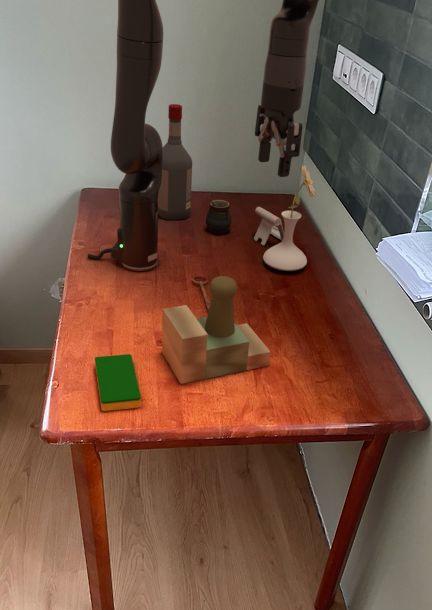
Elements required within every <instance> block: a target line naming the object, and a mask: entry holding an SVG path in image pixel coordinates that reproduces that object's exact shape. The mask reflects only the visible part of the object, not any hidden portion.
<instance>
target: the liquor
mask: <svg viewBox="0 0 432 610" xmlns="http://www.w3.org/2000/svg"><path fill="white" fill-rule="evenodd" d="M167 116H168V118H167V119H168V137H167V142H166V144H164V145H163V165H162V181H161V186H160V188H159V191H158V216H159V217H160V219H163V220H167V221H176V220H177V221H178V220H179V221H180V220H186V219H188V218H189V217H190V215H191V211H192V210H191V209H192V207H191V205H192V183H193V182H192V181H193V159H192V157H191V155H190V154H189V153H188V151H187V149H186V148H185V146H184V145H183V140H182V119H183V105H181V104H178V103H172V104H168V114H167Z"/></svg>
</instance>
